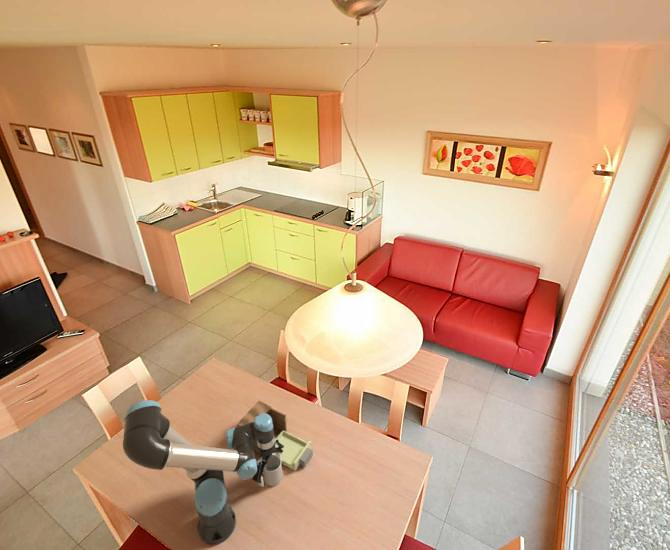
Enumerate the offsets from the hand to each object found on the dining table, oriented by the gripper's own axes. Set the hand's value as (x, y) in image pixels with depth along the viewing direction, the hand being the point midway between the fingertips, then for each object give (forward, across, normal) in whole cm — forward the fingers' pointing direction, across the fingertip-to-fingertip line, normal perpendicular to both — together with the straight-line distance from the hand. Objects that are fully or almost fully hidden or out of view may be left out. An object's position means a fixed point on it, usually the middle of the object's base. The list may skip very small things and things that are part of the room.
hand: (270, 472), depth 180 cm
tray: (+2, +15, -2) cm, 15 cm away
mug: (+3, 0, 0) cm, 3 cm away
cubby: (+3, +15, +15) cm, 21 cm away
